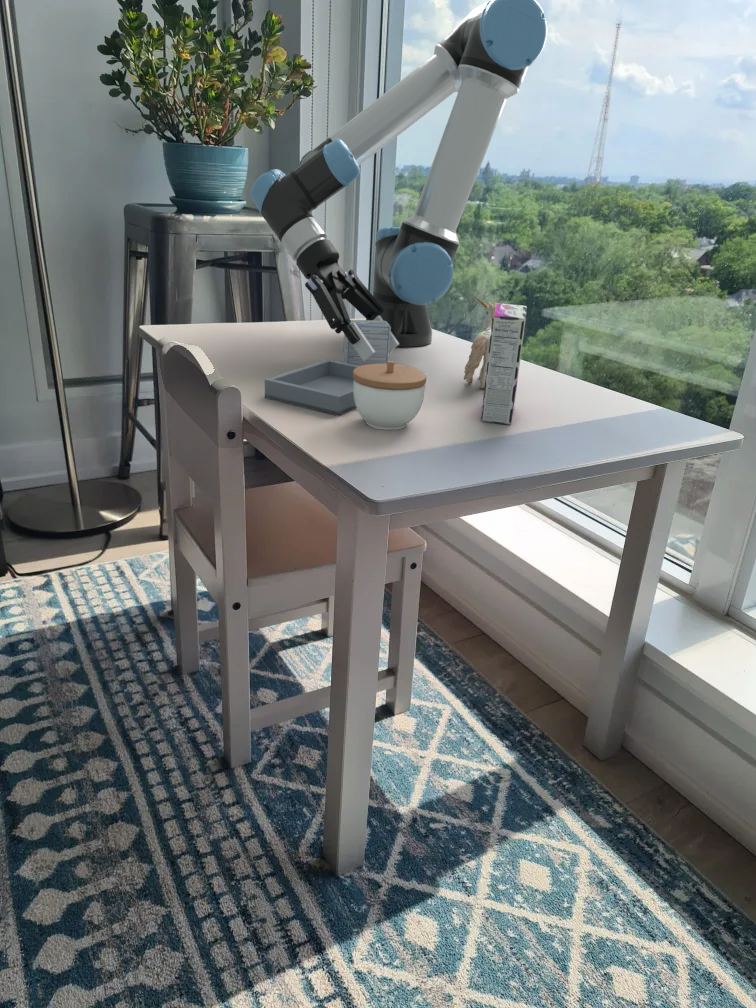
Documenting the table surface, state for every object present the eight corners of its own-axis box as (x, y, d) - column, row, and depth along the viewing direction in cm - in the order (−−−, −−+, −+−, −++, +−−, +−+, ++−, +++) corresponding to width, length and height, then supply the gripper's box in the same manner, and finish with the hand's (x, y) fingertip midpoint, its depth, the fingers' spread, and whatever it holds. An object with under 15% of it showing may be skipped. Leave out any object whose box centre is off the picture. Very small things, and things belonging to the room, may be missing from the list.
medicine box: (383, 366, 145) (386, 320, 142) (388, 372, 141) (391, 325, 138) (342, 365, 144) (344, 319, 140) (345, 371, 140) (347, 324, 136)
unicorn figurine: (504, 369, 149) (514, 299, 144) (503, 397, 131) (514, 318, 126) (467, 366, 150) (475, 296, 144) (461, 392, 132) (470, 314, 127)
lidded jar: (398, 441, 108) (404, 375, 104) (336, 424, 112) (339, 361, 109) (434, 422, 116) (440, 361, 112) (375, 408, 121) (378, 349, 117)
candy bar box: (483, 402, 128) (496, 302, 121) (514, 405, 127) (528, 305, 120) (478, 422, 118) (491, 314, 111) (511, 426, 117) (526, 317, 110)
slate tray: (327, 375, 136) (327, 359, 135) (395, 391, 130) (397, 373, 129) (264, 397, 122) (264, 379, 121) (338, 416, 116) (339, 396, 115)
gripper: (330, 259, 151) (395, 354, 150) (264, 268, 134) (337, 375, 133) (354, 234, 146) (422, 331, 146) (289, 239, 129) (365, 350, 129)
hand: (381, 352), depth 140 cm, fingers closed on medicine box, 8 cm apart
